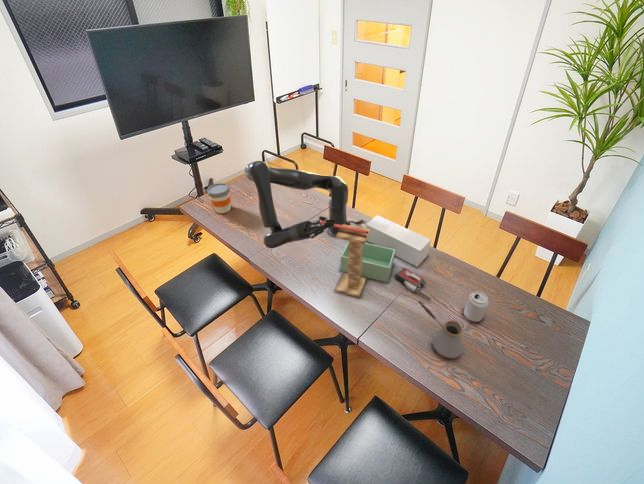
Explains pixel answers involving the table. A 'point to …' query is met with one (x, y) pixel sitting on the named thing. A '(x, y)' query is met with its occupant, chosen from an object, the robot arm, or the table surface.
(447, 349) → the coffee pot
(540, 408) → the table surface
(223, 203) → the reusable coffee cup
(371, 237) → the stack of papers
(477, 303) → the can
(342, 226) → the straw
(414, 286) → the walkie-talkie
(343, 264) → the bin
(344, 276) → the stand
